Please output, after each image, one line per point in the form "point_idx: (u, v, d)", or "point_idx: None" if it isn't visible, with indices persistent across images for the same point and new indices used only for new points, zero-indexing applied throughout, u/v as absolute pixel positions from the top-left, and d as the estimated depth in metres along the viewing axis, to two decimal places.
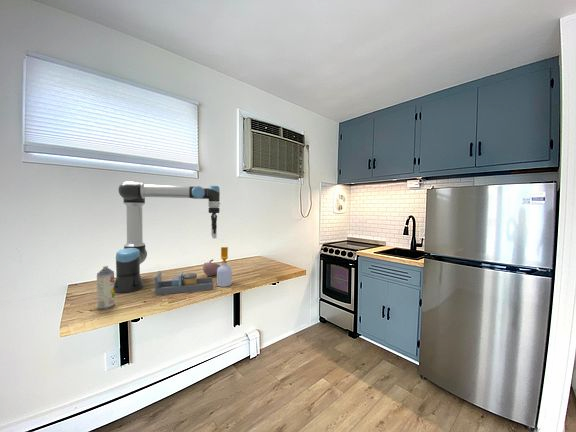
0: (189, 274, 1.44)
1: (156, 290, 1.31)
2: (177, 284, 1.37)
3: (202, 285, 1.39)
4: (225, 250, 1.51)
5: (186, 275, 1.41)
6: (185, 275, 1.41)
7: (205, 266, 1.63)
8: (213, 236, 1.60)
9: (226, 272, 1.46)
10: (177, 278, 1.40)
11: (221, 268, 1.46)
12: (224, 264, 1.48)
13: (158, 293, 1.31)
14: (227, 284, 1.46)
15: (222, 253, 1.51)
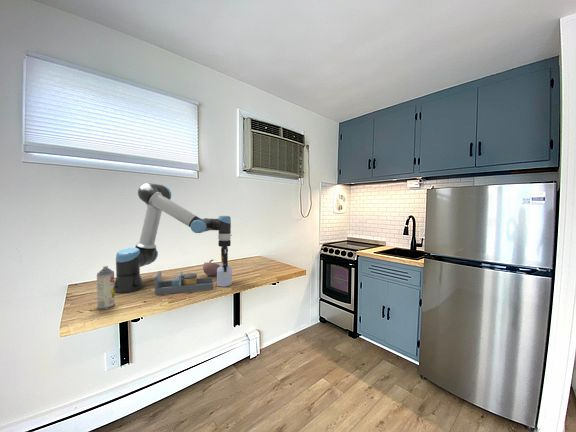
0: (189, 274, 1.44)
1: (156, 290, 1.31)
2: (177, 284, 1.37)
3: (202, 285, 1.39)
4: None
5: (186, 275, 1.41)
6: (185, 275, 1.41)
7: (205, 266, 1.63)
8: (224, 275, 1.44)
9: None
10: (177, 278, 1.40)
11: (221, 268, 1.46)
12: None
13: (158, 293, 1.31)
14: (227, 284, 1.46)
15: None
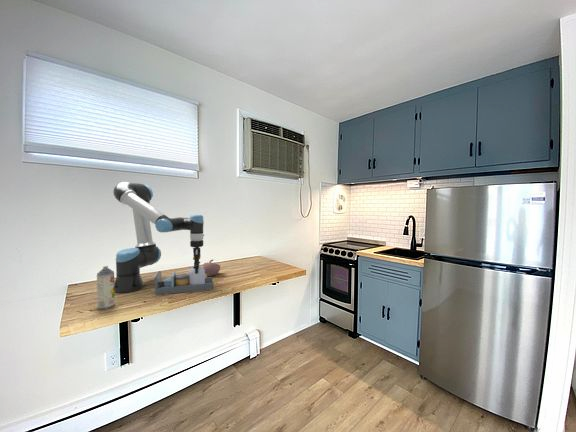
0: (181, 274, 1.42)
1: (156, 290, 1.31)
2: (170, 285, 1.36)
3: (202, 285, 1.39)
4: None
5: (178, 275, 1.40)
6: (177, 275, 1.40)
7: (205, 266, 1.63)
8: (195, 276, 1.39)
9: None
10: (170, 279, 1.39)
11: (193, 269, 1.40)
12: None
13: (158, 293, 1.31)
14: None
15: None
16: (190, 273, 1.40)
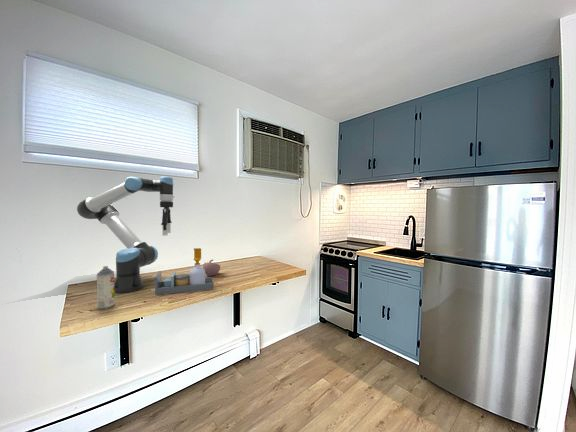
0: (181, 275, 1.42)
1: (156, 290, 1.31)
2: (170, 285, 1.36)
3: (202, 285, 1.39)
4: (198, 252, 1.46)
5: (178, 276, 1.40)
6: (177, 276, 1.40)
7: (205, 266, 1.63)
8: (163, 233, 1.43)
9: (198, 274, 1.40)
10: (170, 279, 1.39)
11: (193, 270, 1.41)
12: (197, 266, 1.42)
13: (158, 293, 1.31)
14: None
15: (195, 254, 1.45)
16: (190, 274, 1.40)
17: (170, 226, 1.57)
